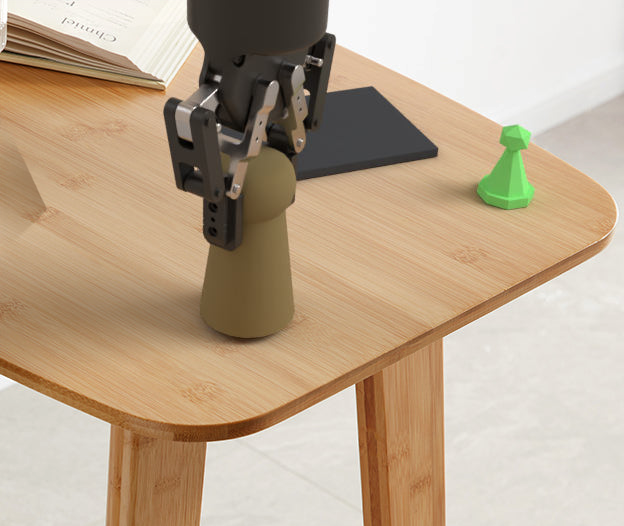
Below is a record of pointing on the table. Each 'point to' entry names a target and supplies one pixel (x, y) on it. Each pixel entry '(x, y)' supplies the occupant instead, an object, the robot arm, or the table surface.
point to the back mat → (357, 135)
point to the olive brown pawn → (254, 256)
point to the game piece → (508, 173)
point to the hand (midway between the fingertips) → (250, 222)
